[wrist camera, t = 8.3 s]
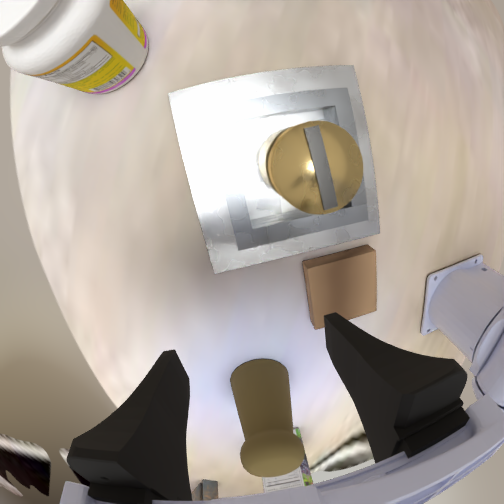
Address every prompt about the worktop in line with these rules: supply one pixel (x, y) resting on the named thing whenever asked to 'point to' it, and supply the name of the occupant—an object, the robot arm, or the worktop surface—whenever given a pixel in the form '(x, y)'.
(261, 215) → the grey square tray
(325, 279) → the stand
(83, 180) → the worktop surface
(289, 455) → the cork
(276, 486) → the syrup box
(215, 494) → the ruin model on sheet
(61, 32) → the supplement bottle
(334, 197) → the slotted brass cylinder
